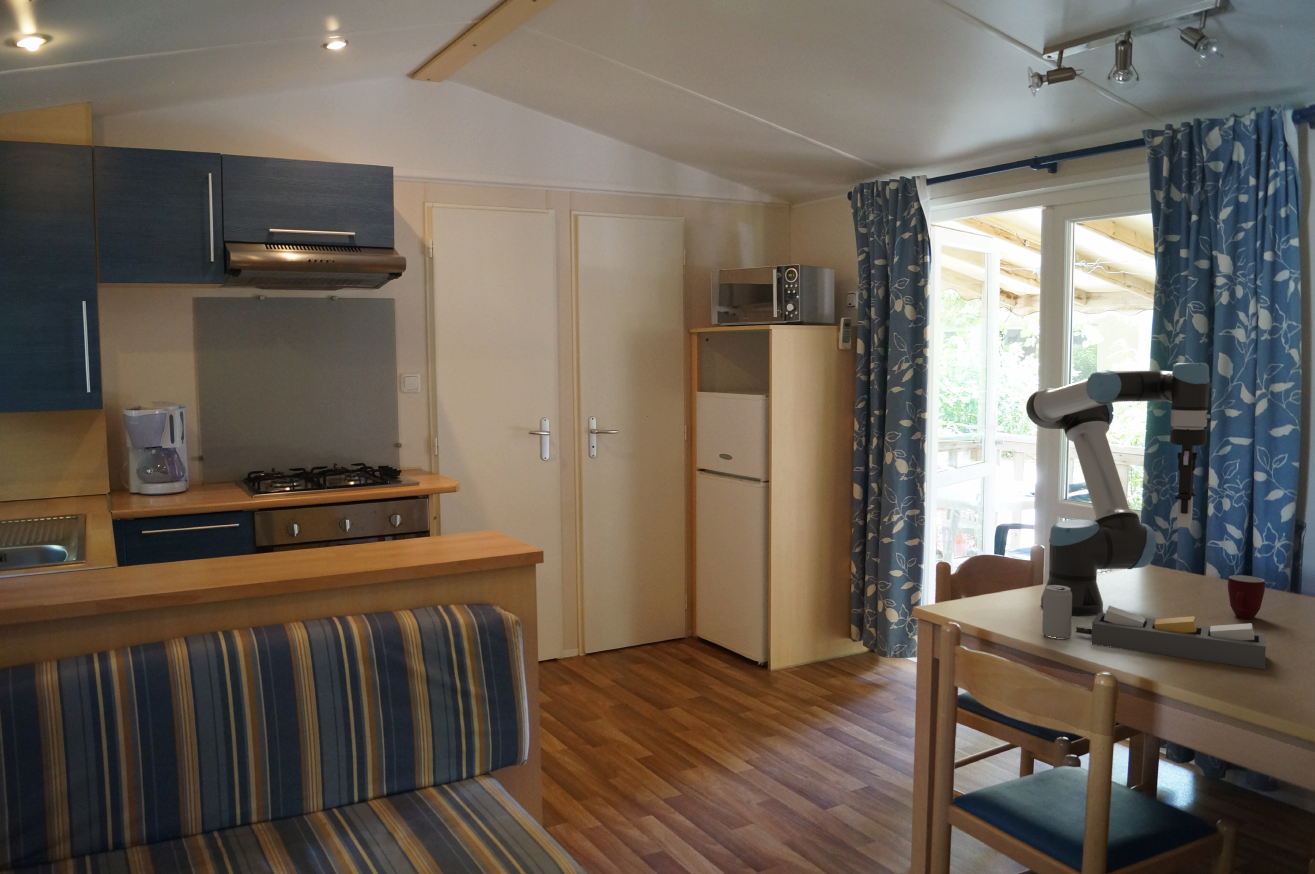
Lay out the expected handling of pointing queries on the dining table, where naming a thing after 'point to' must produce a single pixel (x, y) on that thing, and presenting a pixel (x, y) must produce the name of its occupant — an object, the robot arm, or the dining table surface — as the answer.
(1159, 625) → the rocker amber
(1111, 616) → the rocker grey left
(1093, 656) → the dining table surface
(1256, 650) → the power strip
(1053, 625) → the beverage can
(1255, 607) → the mug
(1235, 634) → the rocker grey right
